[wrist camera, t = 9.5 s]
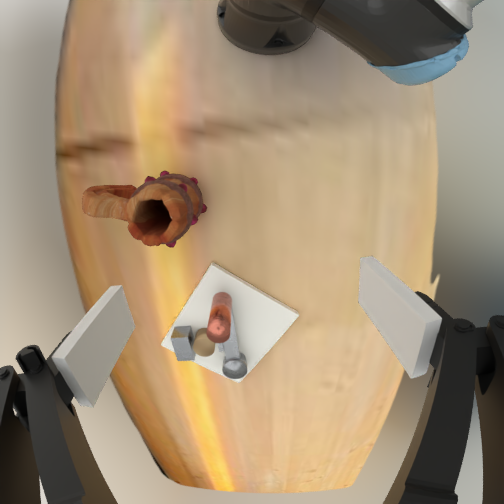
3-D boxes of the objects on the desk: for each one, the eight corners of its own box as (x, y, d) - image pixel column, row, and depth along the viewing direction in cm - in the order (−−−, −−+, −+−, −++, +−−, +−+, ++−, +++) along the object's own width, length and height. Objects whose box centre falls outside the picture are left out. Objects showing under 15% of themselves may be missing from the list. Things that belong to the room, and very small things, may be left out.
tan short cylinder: (201, 324, 47) (199, 336, 43) (220, 333, 48) (218, 346, 44) (192, 338, 48) (189, 350, 44) (209, 347, 48) (208, 359, 45)
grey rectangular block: (174, 326, 47) (170, 338, 44) (190, 325, 47) (187, 337, 44) (181, 348, 48) (177, 360, 45) (196, 348, 48) (194, 360, 45)
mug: (215, 180, 40) (201, 191, 26) (202, 231, 43) (183, 269, 29) (125, 159, 39) (74, 163, 24) (116, 209, 41) (66, 235, 27)
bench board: (212, 261, 44) (211, 266, 43) (297, 311, 48) (299, 317, 46) (162, 341, 49) (160, 347, 47) (239, 379, 53) (239, 385, 51)
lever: (248, 370, 49) (250, 411, 40) (225, 372, 49) (222, 413, 40) (235, 285, 44) (234, 322, 34) (207, 288, 44) (198, 325, 34)
